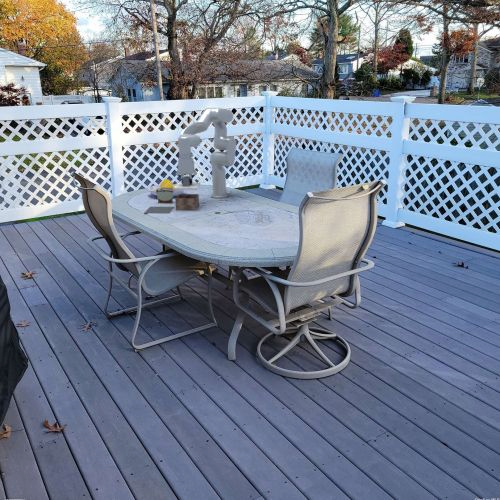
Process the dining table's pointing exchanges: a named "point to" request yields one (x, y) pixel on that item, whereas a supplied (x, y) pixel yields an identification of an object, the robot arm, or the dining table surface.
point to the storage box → (187, 201)
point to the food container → (165, 195)
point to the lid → (186, 185)
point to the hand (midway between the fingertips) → (187, 184)
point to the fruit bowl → (165, 184)
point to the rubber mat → (158, 210)
